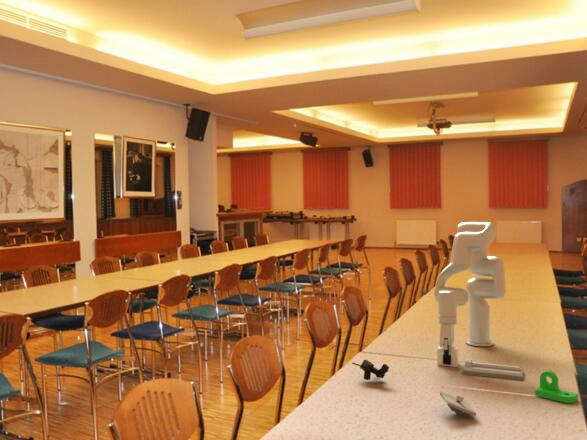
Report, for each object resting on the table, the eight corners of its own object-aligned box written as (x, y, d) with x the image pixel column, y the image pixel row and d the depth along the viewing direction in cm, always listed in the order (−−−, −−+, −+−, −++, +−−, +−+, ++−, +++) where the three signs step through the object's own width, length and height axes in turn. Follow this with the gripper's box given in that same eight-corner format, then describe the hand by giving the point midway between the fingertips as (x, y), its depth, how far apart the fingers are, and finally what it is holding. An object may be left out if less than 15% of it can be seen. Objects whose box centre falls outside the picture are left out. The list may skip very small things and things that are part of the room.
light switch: (466, 404, 175) (466, 389, 174) (477, 417, 165) (477, 401, 165) (438, 405, 175) (438, 389, 174) (447, 417, 165) (448, 401, 165)
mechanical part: (535, 395, 183) (534, 372, 183) (542, 391, 187) (542, 369, 187) (571, 404, 174) (571, 380, 174) (578, 399, 178) (578, 376, 178)
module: (439, 361, 224) (439, 345, 224) (458, 363, 221) (458, 347, 221) (437, 365, 220) (437, 348, 220) (457, 367, 216) (456, 350, 216)
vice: (390, 390, 203) (371, 374, 212) (401, 371, 203) (381, 355, 211) (362, 385, 192) (343, 368, 200) (374, 364, 191) (354, 348, 200)
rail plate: (464, 366, 217) (464, 356, 217) (522, 372, 208) (522, 362, 208) (462, 373, 208) (462, 363, 207) (522, 380, 199) (522, 369, 199)
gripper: (441, 315, 229) (441, 356, 230) (435, 323, 214) (435, 367, 214) (459, 316, 226) (459, 357, 227) (454, 324, 211) (454, 369, 211)
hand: (447, 361), depth 220 cm, fingers closed on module, 5 cm apart
